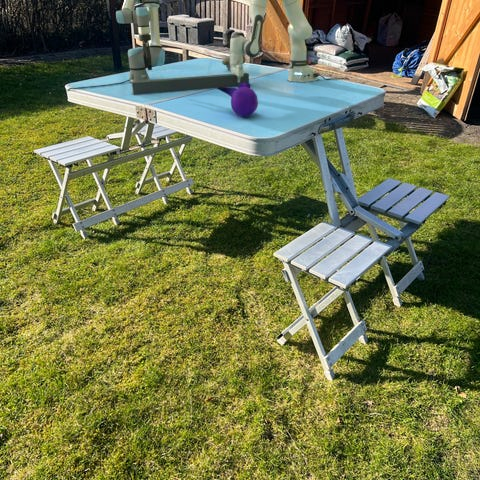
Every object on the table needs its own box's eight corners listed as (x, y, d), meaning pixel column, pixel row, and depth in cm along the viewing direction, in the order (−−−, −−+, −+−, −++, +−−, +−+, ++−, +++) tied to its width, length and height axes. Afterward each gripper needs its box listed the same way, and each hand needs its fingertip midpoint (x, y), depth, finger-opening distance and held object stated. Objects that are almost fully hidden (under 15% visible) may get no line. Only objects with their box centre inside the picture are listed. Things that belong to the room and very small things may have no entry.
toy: (241, 106, 267) (257, 123, 246) (213, 101, 259) (228, 118, 239) (248, 79, 259) (266, 94, 238) (220, 73, 251) (235, 89, 231)
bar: (133, 94, 300) (132, 82, 296) (132, 93, 304) (131, 81, 301) (249, 85, 320) (248, 73, 316) (246, 83, 325) (246, 72, 321)
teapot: (225, 72, 362) (225, 52, 354) (219, 70, 371) (218, 51, 363) (248, 69, 371) (248, 50, 364) (241, 67, 380) (241, 48, 372)
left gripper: (153, 35, 282) (157, 70, 293) (147, 32, 303) (151, 65, 313) (141, 35, 280) (145, 71, 291) (136, 32, 301) (140, 66, 311)
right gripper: (245, 62, 304) (245, 83, 311) (236, 58, 321) (237, 78, 328) (236, 63, 303) (237, 84, 310) (228, 58, 320) (228, 79, 327)
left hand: (148, 68), depth 302 cm, fingers open, 13 cm apart
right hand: (237, 81), depth 319 cm, fingers closed on bar, 5 cm apart
